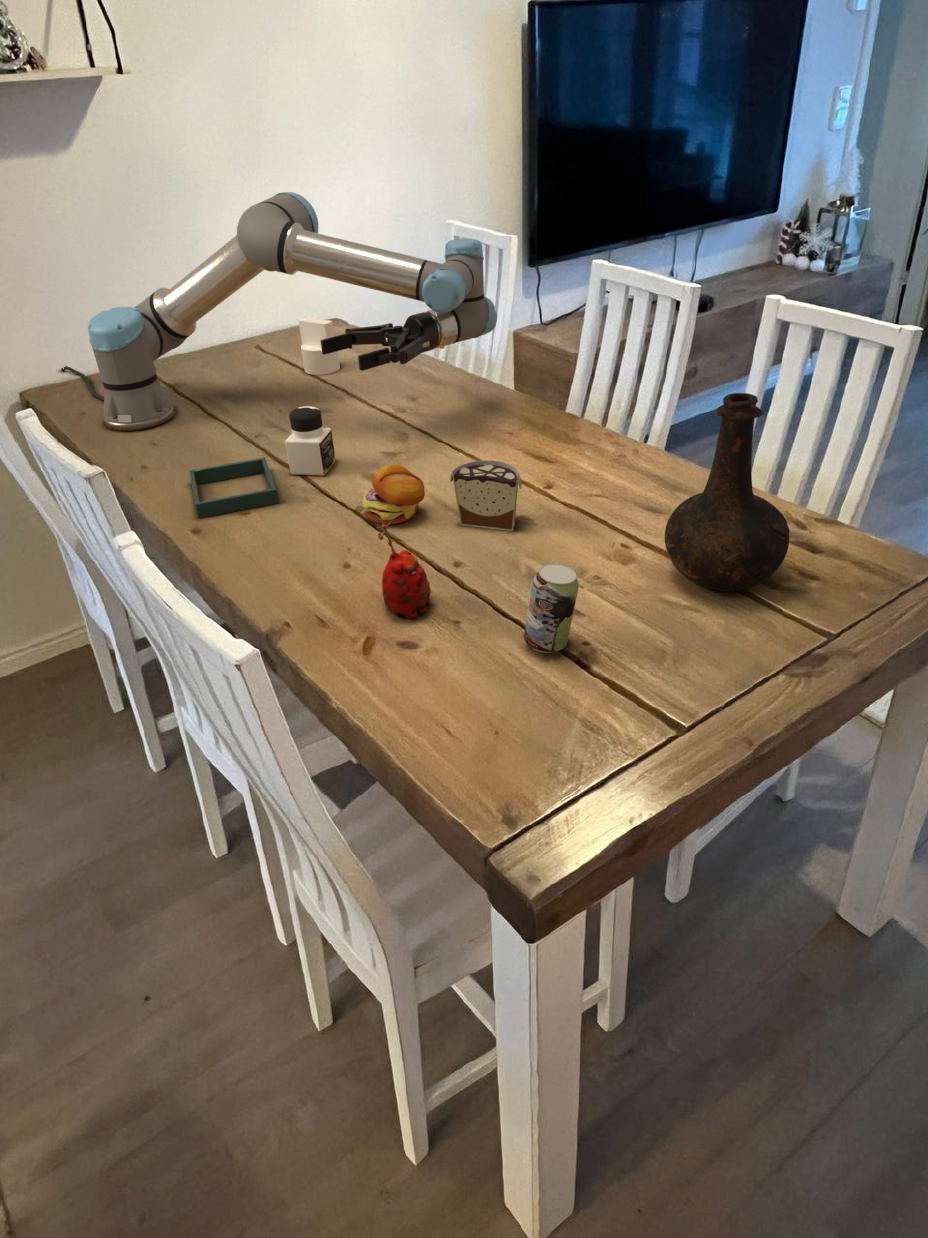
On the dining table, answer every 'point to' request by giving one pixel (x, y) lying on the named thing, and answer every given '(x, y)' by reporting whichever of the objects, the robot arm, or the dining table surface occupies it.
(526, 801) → the dining table surface
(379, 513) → the cheeseburger
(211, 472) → the tray
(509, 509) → the cream brown domed block
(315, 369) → the base with upright slab
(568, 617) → the beverage can
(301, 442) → the medicine bottle
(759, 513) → the glass bottle
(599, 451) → the dining table surface
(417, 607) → the red clay folk toy
